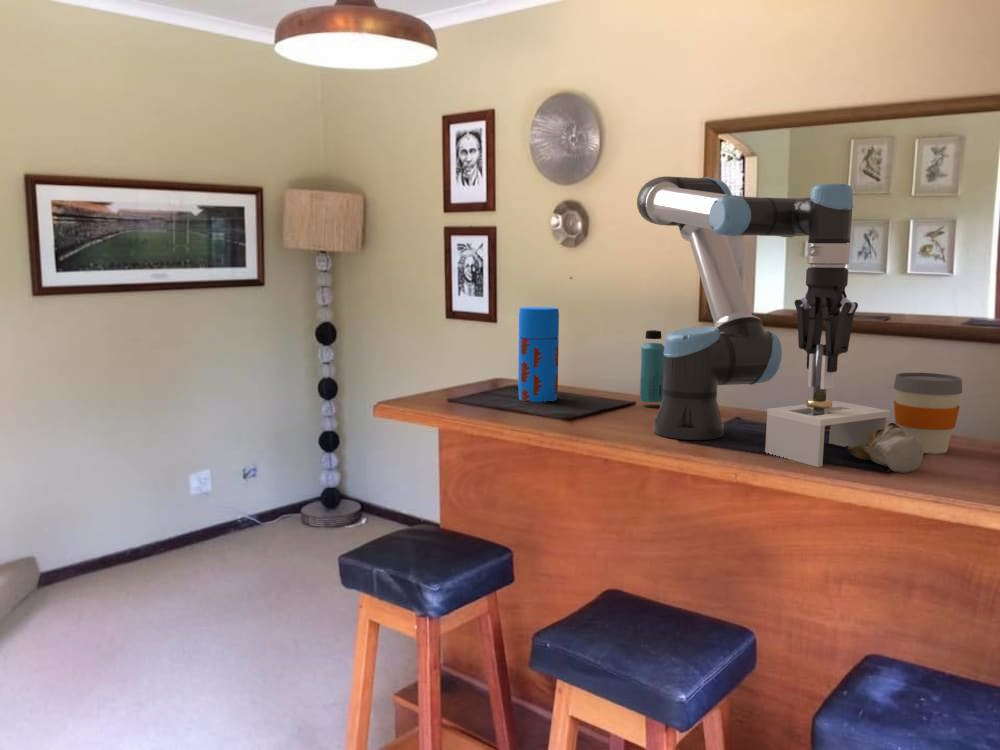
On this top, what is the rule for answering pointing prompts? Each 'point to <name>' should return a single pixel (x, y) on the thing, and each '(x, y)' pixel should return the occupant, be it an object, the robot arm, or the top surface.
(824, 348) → the peg with gold collar
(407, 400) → the top surface
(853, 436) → the keyhole bracket
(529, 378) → the thermos
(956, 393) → the reusable coffee cup
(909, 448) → the ceramic sculpture
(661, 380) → the beverage bottle
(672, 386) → the robot arm
